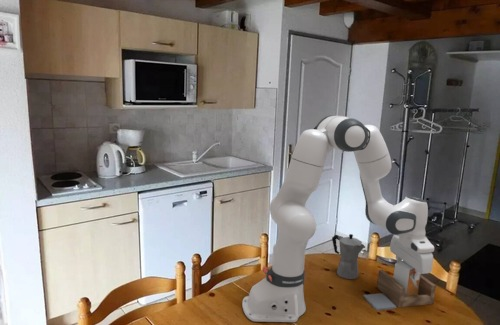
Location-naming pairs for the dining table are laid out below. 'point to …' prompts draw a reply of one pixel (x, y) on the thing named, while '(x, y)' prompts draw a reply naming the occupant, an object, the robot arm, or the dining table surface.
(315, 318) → the dining table surface
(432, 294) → the open wooden box
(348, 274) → the coffeepot
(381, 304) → the mat
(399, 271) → the small box
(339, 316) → the dining table surface
